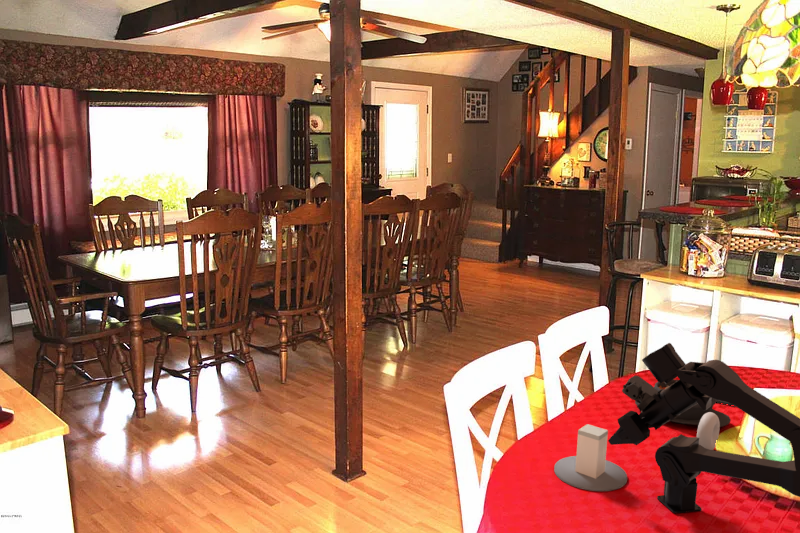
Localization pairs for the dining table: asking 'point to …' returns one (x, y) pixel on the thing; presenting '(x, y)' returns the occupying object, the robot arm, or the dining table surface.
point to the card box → (591, 451)
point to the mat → (605, 482)
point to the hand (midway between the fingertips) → (618, 435)
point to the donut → (708, 430)
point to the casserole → (693, 410)
